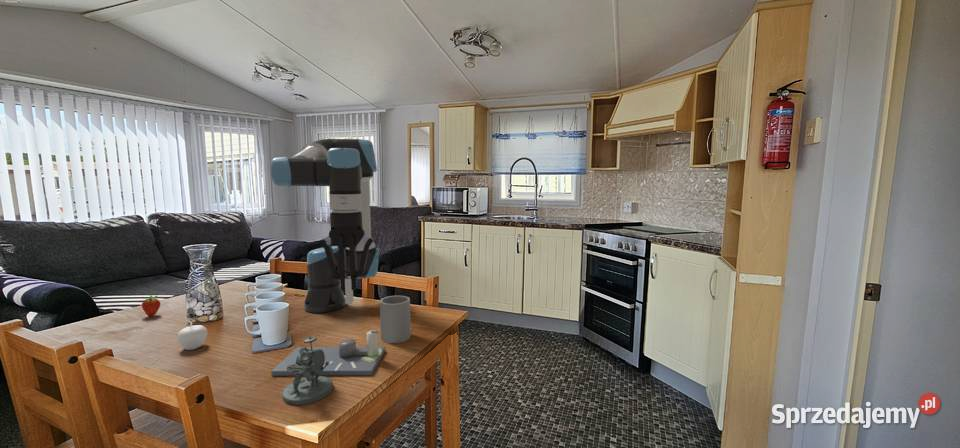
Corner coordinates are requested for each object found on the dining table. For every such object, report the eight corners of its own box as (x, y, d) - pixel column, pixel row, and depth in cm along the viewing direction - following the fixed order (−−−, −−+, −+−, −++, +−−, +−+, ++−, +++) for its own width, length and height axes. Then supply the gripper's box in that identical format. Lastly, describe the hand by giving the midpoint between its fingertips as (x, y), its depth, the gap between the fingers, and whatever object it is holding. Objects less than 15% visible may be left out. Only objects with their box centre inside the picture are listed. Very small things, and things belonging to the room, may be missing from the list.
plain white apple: (174, 354, 107) (172, 327, 106) (183, 344, 113) (181, 318, 112) (204, 350, 109) (202, 323, 108) (211, 340, 116) (209, 315, 115)
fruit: (139, 317, 136) (137, 295, 136) (156, 312, 141) (154, 292, 140) (148, 319, 134) (146, 297, 134) (165, 314, 139) (163, 293, 138)
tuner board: (297, 351, 109) (297, 346, 108) (385, 350, 109) (384, 346, 109) (271, 375, 95) (271, 370, 94) (371, 375, 95) (371, 370, 95)
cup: (376, 342, 115) (375, 303, 114) (387, 330, 124) (386, 295, 123) (405, 343, 114) (404, 305, 112) (414, 332, 123) (413, 296, 121)
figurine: (271, 402, 83) (268, 350, 82) (301, 378, 94) (299, 331, 92) (316, 407, 81) (313, 353, 80) (341, 381, 92) (339, 334, 91)
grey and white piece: (336, 357, 101) (335, 334, 101) (342, 350, 106) (341, 328, 105) (376, 357, 101) (375, 334, 100) (380, 350, 105) (380, 328, 105)
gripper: (314, 212, 90) (319, 308, 93) (371, 212, 92) (374, 305, 95) (321, 210, 97) (326, 298, 100) (374, 209, 99) (376, 296, 102)
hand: (349, 302), depth 97 cm, fingers closed
